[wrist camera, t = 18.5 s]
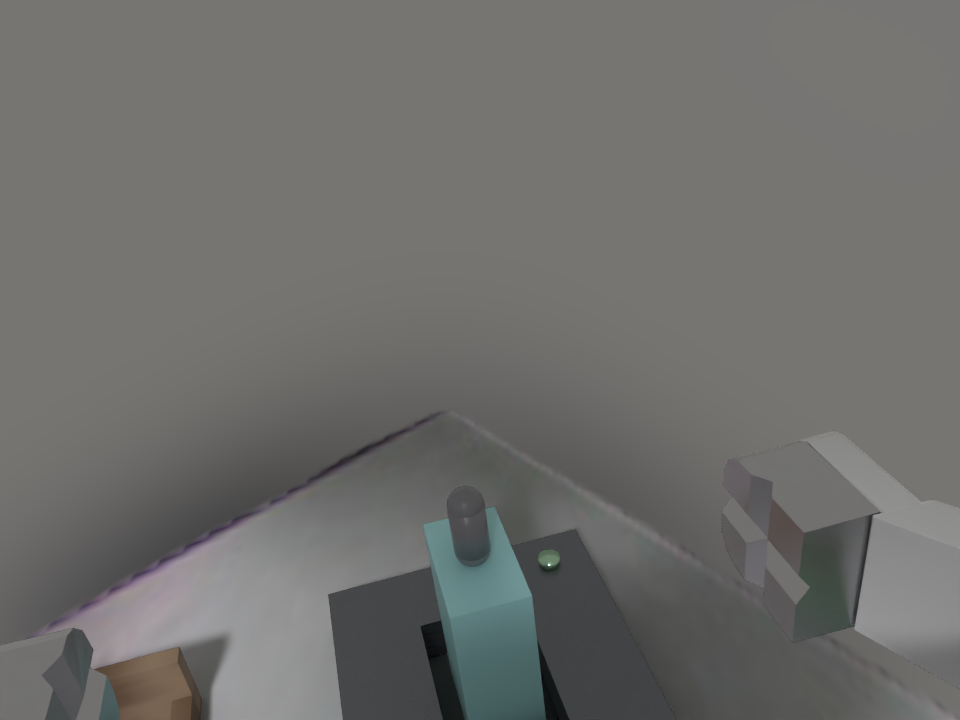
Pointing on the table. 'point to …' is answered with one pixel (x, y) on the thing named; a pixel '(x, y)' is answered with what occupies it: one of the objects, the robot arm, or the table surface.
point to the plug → (485, 612)
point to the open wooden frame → (154, 687)
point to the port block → (559, 628)
